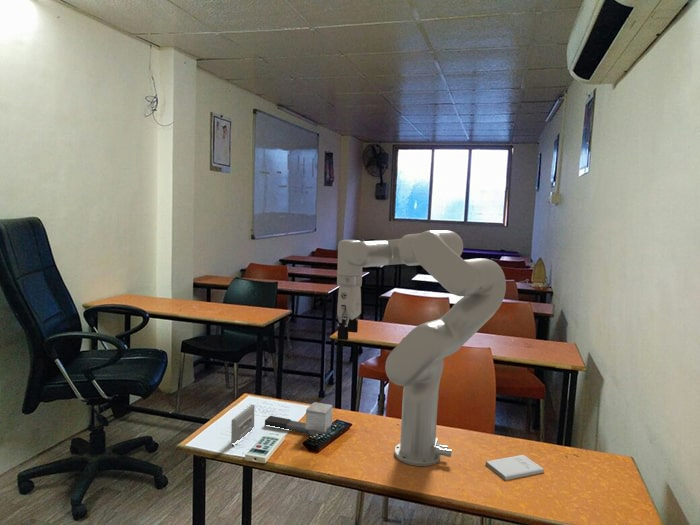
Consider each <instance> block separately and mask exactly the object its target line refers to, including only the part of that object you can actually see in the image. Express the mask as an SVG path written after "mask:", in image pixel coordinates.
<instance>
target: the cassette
mask: <svg viewBox="0 0 700 525" xmlns="http://www.w3.org/2000/svg"><path fill="white" fill-rule="evenodd" d="M253 427H254V428H255V405H254V404H251V405H249V406H247V407H246V408H245V409H244V410H243V411H242V412H240V413H239V414H237V415H236V416H235V417H233V418H232V419H231V430H230V431H231V436H230V437H231V440H230V441H231V443H235V442H236V441H237V440H240V439H241V438H242V437H244V436H245V435H246V434H247V433H248V432H250V431H251V430H252V428H253ZM252 431H253V430H252ZM231 443H230V444H231Z"/></svg>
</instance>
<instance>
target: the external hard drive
mask: <svg viewBox="0 0 700 525" xmlns="http://www.w3.org/2000/svg"><path fill="white" fill-rule="evenodd" d="M485 465H486V467H488V468H489V469H491V470H492V471H493V472H494V473H495V474H497V476H499V477H500V478H502V479H503V480H504V481H509V480H514V479H519V478H524V477H527V476H533V475H538V474H541V473H542V474H543V473H544V472H545V469H544V467H542V466H541V465H539V464H537V463H536V462H534V461H533V460H532V459H530V458H529V457H527V456H526V455H524V454H519V455H514V456H510V457H509V456H508V457H503V458H497V459H492V460H487V461H486V460H485Z"/></svg>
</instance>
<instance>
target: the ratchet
mask: <svg viewBox="0 0 700 525" xmlns="http://www.w3.org/2000/svg"><path fill="white" fill-rule="evenodd" d="M265 425H270V426H275V427H280V428H284V429H289V430H292V431H291V432H293V431H295V433H298V432H299V433H298V434H303V433H304V434H305V435H306V436H307V437H308V438H310V436H313V435H316V434H325V433H328V432H329V431H330V432H331V426H330V427H329V428H328V429H327V431H326V432H325V433H324V432H319V431H313V430H308V429H306V422H300V421H297V420H296V421H295V420H291V419H290V418H285V417H280V416H279V417H278V416H276V415H275V416H273V415H269V416H268V417H267V418H265V419H264V426H265ZM304 434H303V435H304Z"/></svg>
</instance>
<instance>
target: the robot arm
mask: <svg viewBox="0 0 700 525" xmlns="http://www.w3.org/2000/svg"><path fill="white" fill-rule="evenodd" d="M463 251H464V243H463V239H462V238H461V237H460V235H459V234H458V233H456V232H455V231H452V230H446V229H445V230H425V231H423V232H420V233H409V234H405V235H404V236H402V237H401V238H396V239H385V240H384V239H383V240H363V241H361V240H357V239H342V240H340V241H339V242H338V244H337V271H336V272H337V273H336V274H337V275H336V276H337V278H336V285H337V286H339V288H338V295H337V308H336V309H337V311H336V312H337V313H336V314H337V337H336V338H337V340H339V341H340V340H342V341H348V340H349V333H358V328H359V327H358V325H359V316H360V315H361V314H362V290H361V289H362V288H361V287H362V284H363V268H370V267H379V266H380V267H381V266H389V265H406V266H410V267H411V266H412V267H413V266H421V267H422V268H423V269H424V270H425V271H426V272H427V273H428V274H429V275H430V276H431V277H433V279H434V280H435V281H437V282H438V283H439V284H440V285H441V287H443V288H444V289H445V290H446V291H447V292H448V293H451V295H454V296H457V297H462V298H460V299H459V300H458V301H456V302H455V303H454V304H453V305H452V307H451V308H450V309H448V311H447V312H446V313H445V314H443V315H442V316H441V317H440V318H438V319H433V320H431V321H430V320H429V321H427V322H423V323H421V324H419V325H416V327H414V328H412V329H411V331H409V332H408V334H407V335H405V337H404V338H403V339H401V340H400V342H399V343H398V344H397V345H396V346H395V347H394V348H393V349H392V350H391V352H390V353H389V354H388V356H387V358H386V361H385V367H384V368H385V374H386V376H387V378H388V379H389V381H390V382H392V383H393V384H394V385H396V386H400V387H403V388H402V389H403V391H402V399H401V401H402V402H401V403H402V405H401V406H402V407H401V421H400V422H401V424H400V441H399V443H398V444H397V445H395V447H394V456H395V457H396V458H397V459H398V460H399V461H400V462H402V463H404V464H407V465H410V466H414V467H428V466H433V465H436V464H437V463H438V462H439V461H440V460H441V456H443V457H447V458H452V449H449V445H447V444H446V445H445V444H440V443H439V442H438V441H439V438H438V437H436V436H437V421H438V420H437V418H438V403H439V390H440V383H441V379H442V375H443V369H444V358H446V357H449V356H451V355H454V354H455V353H456V352H458V351H459V350H460V349H461V348H462V347H463V346H464V345H465V344H466V343H467V342H468V341H469V340H470V339H471V338H472V337H473V336H474V335H475V334H476V333H477V332H478V331H479V330H480V329H481V328H482V327H484V325H485V324H486V323H487V322H488V321H489V320H490V319H492V317H493V316H494V315H495V313H496V312H497V311H498V310H499V309H500V307H501V305H502V303H503V301H504V299H505V295H506V291H507V282H506V281H507V280H506V276H505V273H504V271H503V269H502V267H501V266H500V265H499V263H497V262H496V261H494V260H491V259H489V258H481V257H480V258H470V259H463V257H461V256H462V254H463Z"/></svg>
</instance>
